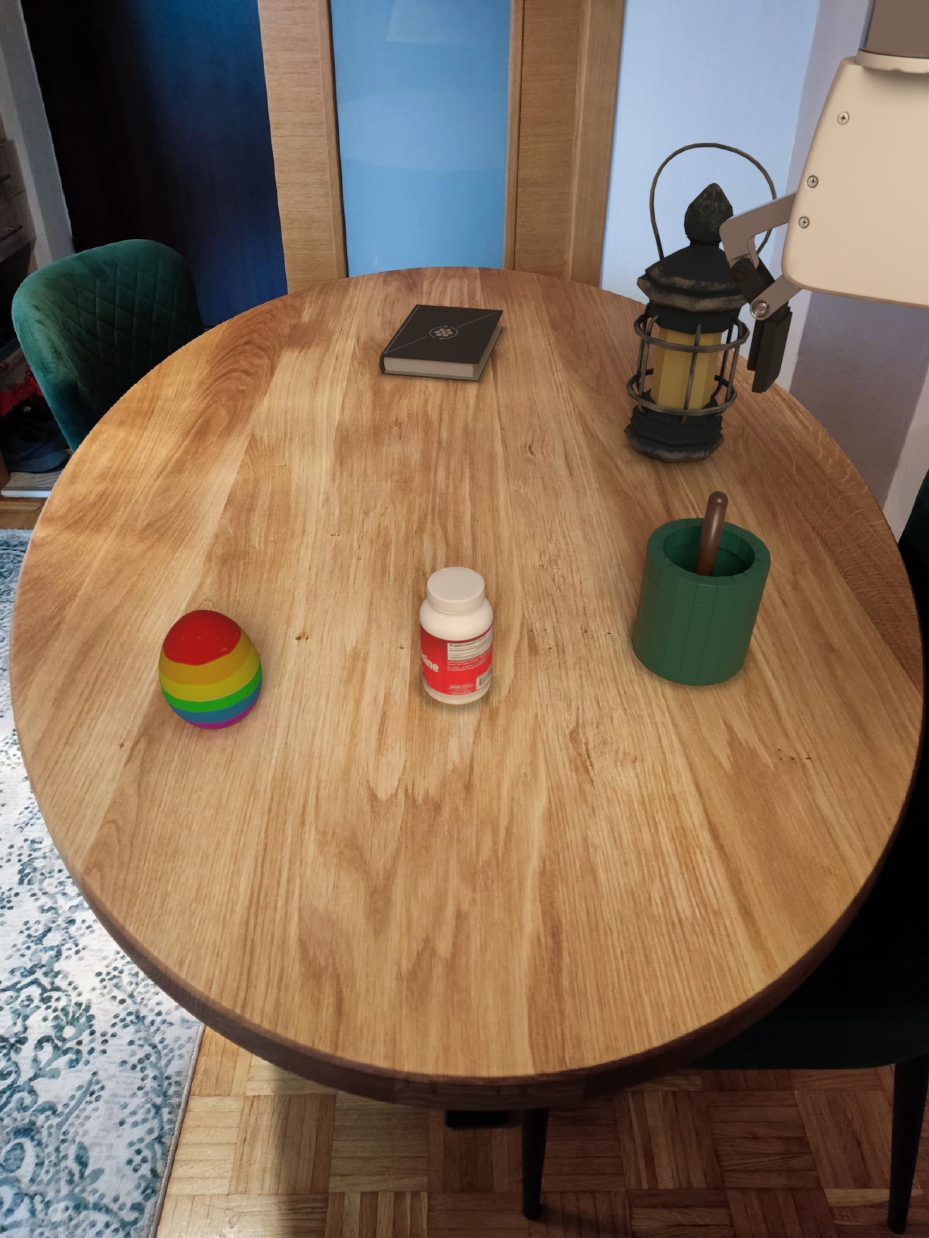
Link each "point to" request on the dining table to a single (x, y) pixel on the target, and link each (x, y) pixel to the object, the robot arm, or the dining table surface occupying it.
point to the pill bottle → (456, 636)
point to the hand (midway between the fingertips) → (852, 403)
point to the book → (442, 343)
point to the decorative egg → (209, 670)
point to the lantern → (688, 332)
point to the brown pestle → (711, 533)
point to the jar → (698, 603)
